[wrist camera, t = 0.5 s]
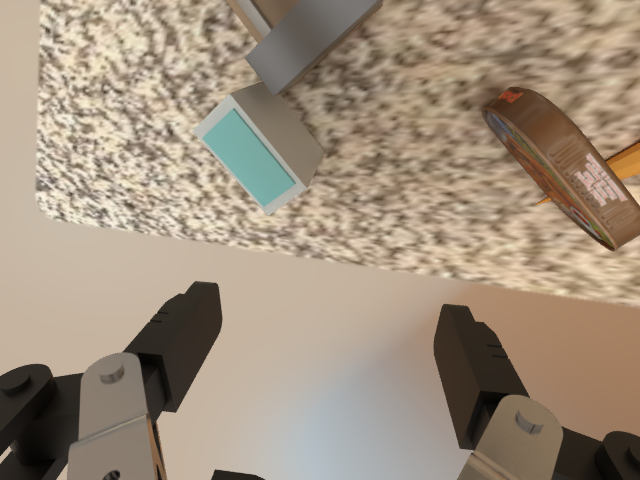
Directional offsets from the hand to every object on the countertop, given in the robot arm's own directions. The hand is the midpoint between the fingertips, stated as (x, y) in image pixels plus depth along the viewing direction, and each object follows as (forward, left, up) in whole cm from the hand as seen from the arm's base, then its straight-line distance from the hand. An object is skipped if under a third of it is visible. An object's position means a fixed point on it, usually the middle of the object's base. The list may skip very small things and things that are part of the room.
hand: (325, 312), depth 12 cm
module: (+5, -5, -22) cm, 24 cm away
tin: (-12, +10, -22) cm, 27 cm away
